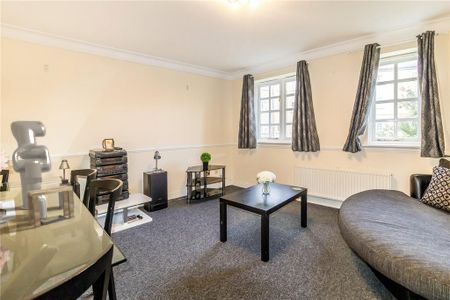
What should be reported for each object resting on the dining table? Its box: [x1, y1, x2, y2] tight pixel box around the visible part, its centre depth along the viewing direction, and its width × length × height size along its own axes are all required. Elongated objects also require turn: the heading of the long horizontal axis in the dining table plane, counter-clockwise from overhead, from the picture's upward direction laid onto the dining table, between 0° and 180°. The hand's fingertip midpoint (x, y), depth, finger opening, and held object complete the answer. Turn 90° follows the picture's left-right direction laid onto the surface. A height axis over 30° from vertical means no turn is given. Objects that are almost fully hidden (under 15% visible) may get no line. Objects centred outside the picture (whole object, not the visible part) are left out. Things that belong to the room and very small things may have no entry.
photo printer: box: [38, 195, 48, 219], centre depth 139 cm, size 10×4×12 cm, turn 41°
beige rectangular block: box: [57, 178, 75, 210], centre depth 157 cm, size 7×7×18 cm
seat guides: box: [40, 214, 67, 226], centre depth 131 cm, size 8×11×2 cm
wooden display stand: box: [27, 185, 75, 229], centre depth 130 cm, size 9×18×18 cm, turn 145°
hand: (36, 210), depth 144 cm, fingers closed
